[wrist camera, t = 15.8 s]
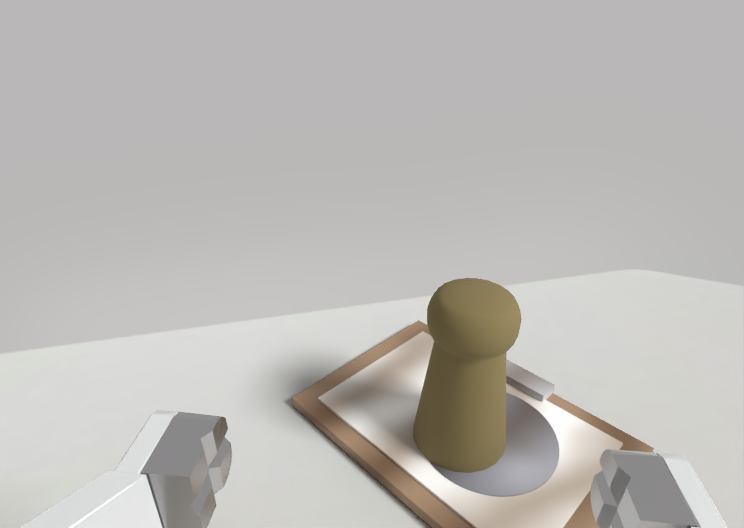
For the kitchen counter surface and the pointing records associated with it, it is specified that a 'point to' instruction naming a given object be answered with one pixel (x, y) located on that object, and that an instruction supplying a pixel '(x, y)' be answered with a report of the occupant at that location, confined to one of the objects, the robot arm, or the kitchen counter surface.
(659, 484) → the robot arm
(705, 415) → the kitchen counter surface
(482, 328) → the cork
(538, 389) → the clipboard
